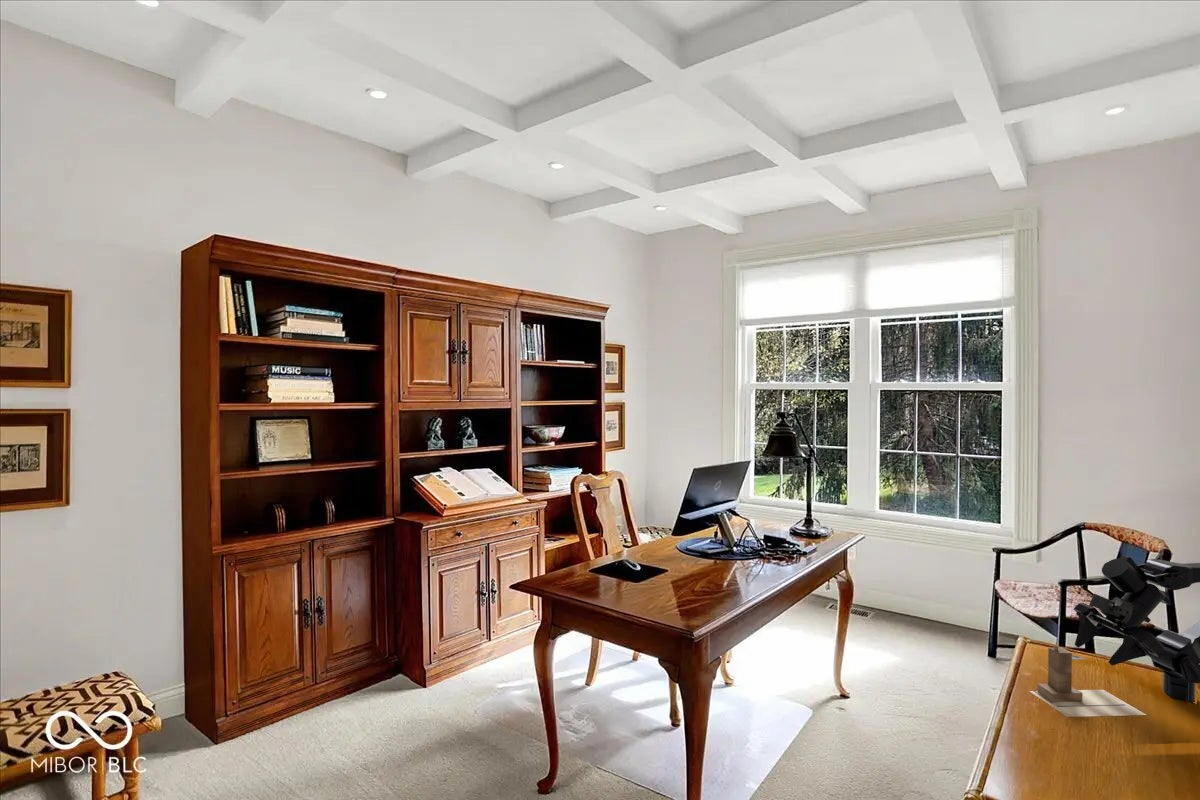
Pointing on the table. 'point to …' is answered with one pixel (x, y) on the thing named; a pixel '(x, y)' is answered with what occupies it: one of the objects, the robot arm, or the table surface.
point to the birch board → (1093, 705)
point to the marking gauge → (1059, 677)
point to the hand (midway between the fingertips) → (1092, 654)
